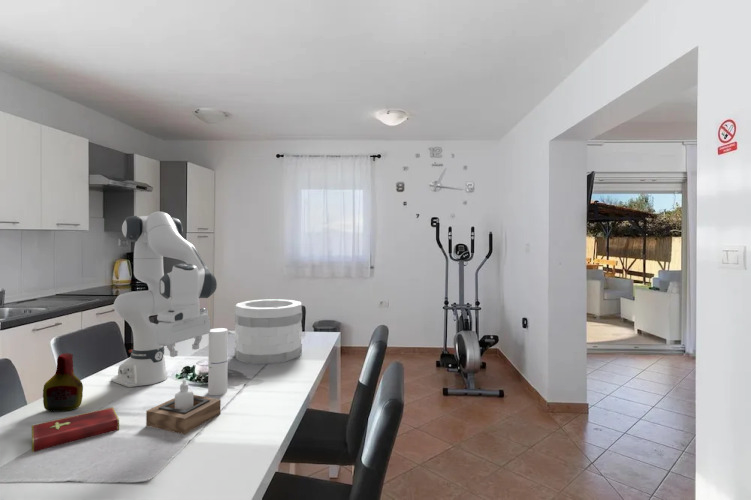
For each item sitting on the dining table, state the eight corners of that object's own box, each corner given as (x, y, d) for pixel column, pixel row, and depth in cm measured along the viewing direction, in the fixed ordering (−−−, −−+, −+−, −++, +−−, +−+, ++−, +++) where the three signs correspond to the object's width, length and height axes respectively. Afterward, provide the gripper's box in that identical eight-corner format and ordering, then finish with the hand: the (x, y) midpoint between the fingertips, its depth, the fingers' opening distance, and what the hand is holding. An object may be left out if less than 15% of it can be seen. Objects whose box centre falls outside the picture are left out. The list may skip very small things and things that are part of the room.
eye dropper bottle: (176, 413, 135) (177, 378, 134) (194, 412, 136) (194, 377, 136) (173, 419, 130) (173, 383, 130) (191, 417, 132) (191, 382, 131)
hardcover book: (119, 431, 126) (119, 418, 126) (31, 454, 112) (31, 439, 112) (113, 418, 135) (113, 406, 135) (31, 437, 121) (31, 424, 121)
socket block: (146, 425, 129) (146, 409, 129) (184, 406, 144) (184, 391, 144) (184, 434, 123) (184, 417, 123) (220, 413, 139) (220, 398, 138)
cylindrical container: (220, 396, 154) (221, 332, 154) (204, 394, 156) (204, 331, 155) (230, 389, 161) (231, 328, 161) (215, 387, 163) (215, 327, 162)
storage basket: (294, 364, 195) (294, 309, 194) (223, 363, 195) (224, 308, 195) (307, 346, 230) (307, 299, 229) (247, 345, 230) (248, 298, 230)
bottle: (87, 405, 144) (87, 350, 144) (75, 412, 138) (75, 356, 137) (51, 406, 143) (51, 351, 142) (38, 414, 136) (38, 356, 136)
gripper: (200, 306, 144) (200, 344, 144) (152, 316, 124) (152, 359, 125) (214, 307, 142) (214, 346, 142) (167, 317, 122) (167, 362, 123)
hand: (185, 352), depth 133 cm, fingers open, 8 cm apart
